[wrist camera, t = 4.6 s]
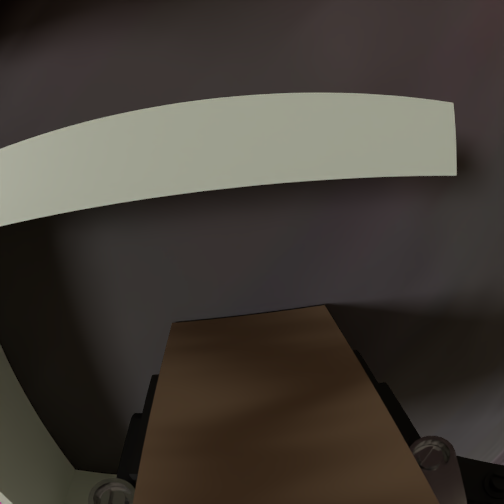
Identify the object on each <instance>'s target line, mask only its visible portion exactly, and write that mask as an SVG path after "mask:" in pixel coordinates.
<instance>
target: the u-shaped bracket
mask: <svg viewBox="0 0 504 504" xmlns="http://www.w3.org/2000/svg"><path fill="white" fill-rule="evenodd" d="M396 176H457V159H456V132H455V117H454V105H453V103H450V102H444V101H436V100H429V99H421V98H411V97H401V96H390V95H375V94H356V93H281V94H261V95H247V96H235V97H224V98H215V99H206V100H198V101H190V102H183V103H176V104H170V105H164V106H158V107H152V108H147V109H141V110H136V111H131V112H126V113H122V114H117V115H112V116H108V117H104V118H100V119H95V120H91V121H87V122H84V123H80V124H76V125H72V126H69V127H65V128H62V129H58V130H55V131H52V132H48V133H45V134H42V135H39V136H36V137H33V138H30V139H27V140H24V141H21V142H18V143H15V144H12V145H10V146H7V147H4V148H2V149H0V226H4V225H9V224H13V223H17V222H22V221H27V220H31V219H36V218H41V217H46V216H51V215H56V214H61V213H66V212H71V211H77V210H82V209H88V208H93V207H99V206H105V205H111V204H117V203H123V202H129V201H136V200H142V199H149V198H156V197H163V196H170V195H177V194H185V193H193V192H201V191H209V190H218V189H227V188H236V187H246V186H256V185H266V184H277V183H289V182H302V181H316V180H331V179H348V178H369V177H396ZM116 477H117V475H115V474H105V473H96V472H89V471H82V470H75V469H74V467H73V466H72V465H71V463H70V462H69V461H68V459H67V458H66V457H65V455H64V454H63V453H62V451H61V450H60V448H59V447H58V445H57V444H56V443H55V441H54V440H53V438H52V437H51V435H50V434H49V432H48V431H47V429H46V428H45V426H44V425H43V423H42V421H41V420H40V418H39V417H38V415H37V413H36V412H35V410H34V408H33V407H32V405H31V403H30V402H29V400H28V398H27V396H26V395H25V393H24V391H23V389H22V387H21V385H20V384H19V382H18V380H17V378H16V376H15V374H14V372H13V370H12V368H11V366H10V364H9V362H8V360H7V358H6V356H5V354H4V351H3V349H2V347H1V345H0V502H1V503H2V504H88V497H89V493H90V491H91V489H92V487H93V486H94V485H95V484H96V483H98V482H100V481H102V480H104V479H108V478H116Z"/></svg>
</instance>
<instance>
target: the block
mask: <svg viewBox="0 0 504 504" xmlns="http://www.w3.org/2000/svg"><path fill="white" fill-rule="evenodd" d="M133 504H439V502H438V500H437V498H436V496H435V494H434V492H433V491H432V489H431V487H430V485H429V483H428V481H427V479H426V478H425V476H424V474H423V472H422V470H421V469H420V467H419V465H418V463H417V461H416V459H415V458H414V456H413V454H412V452H411V450H410V449H409V447H408V445H407V443H406V442H405V440H404V438H403V436H402V434H401V433H400V431H399V429H398V427H397V426H396V424H395V422H394V420H393V419H392V417H391V415H390V413H389V412H388V410H387V408H386V407H385V405H384V403H383V401H382V400H381V398H380V396H379V394H378V393H377V391H376V389H375V388H374V386H373V384H372V383H371V381H370V379H369V377H368V376H367V374H366V372H365V371H364V369H363V367H362V366H361V364H360V362H359V361H358V359H357V357H356V356H355V354H354V352H353V351H352V349H351V347H350V346H349V344H348V342H347V341H346V339H345V337H344V336H343V334H342V333H341V331H340V329H339V328H338V326H337V324H336V323H335V321H334V320H333V318H332V316H331V315H330V313H329V311H328V310H327V308H326V307H325V305H321V306H314V307H308V308H301V309H293V310H286V311H279V312H271V313H263V314H255V315H246V316H238V317H229V318H220V319H210V320H200V321H189V322H178V323H172V326H171V330H170V333H169V337H168V341H167V345H166V349H165V353H164V357H163V361H162V365H161V369H160V374H159V378H158V382H157V386H156V391H155V395H154V399H153V404H152V408H151V413H150V417H149V422H148V426H147V431H146V436H145V441H144V446H143V451H142V456H141V461H140V466H139V471H138V477H137V482H136V488H135V493H134V499H133Z"/></svg>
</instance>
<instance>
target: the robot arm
mask: <svg viewBox="0 0 504 504" xmlns="http://www.w3.org/2000/svg"><path fill="white" fill-rule="evenodd" d="M353 352H354V354H355V356H356V357H357V359H358V361H359V362H360V364H361V366H362V367H363V369H364V371H365V372H366V374H367V376H368V377H369V379H370V381H371V383H372V384H373V386H374V388H375V389H376V391H377V393H378V394H379V396H380V398H381V400H382V401H383V403H384V405H385V407H386V408H387V410H388V412H389V413H390V415H391V417H392V419H393V420H394V422H395V424H396V426H397V427H398V429H399V431H400V433H401V434H402V436H403V438H404V440H405V442H406V443H407V445H408V447H409V449H410V450H411V452H412V454H413V456H414V458H415V459H416V461H417V463H418V465H419V467H420V469H421V470H422V472H423V474H424V476H425V478H426V479H427V481H428V483H429V485H430V487H431V489H432V491H433V492H434V494H435V496H436V498H437V500H438V502H439V504H504V465H498V464H493V463H488V462H483V461H478V460H473V459H469V458H464V457H460V456H456V453H455V450H454V448H453V446H452V444H451V443H450V442H449V441H447V440H446V439H444V438H442V437H438V436H426V437H422V438H421V437H420V436H419V434H418V432H417V431H416V429H415V428H414V426H413V424H412V423H411V421H410V419H409V418H408V416H407V415H406V413H405V411H404V410H403V408H402V407H401V405H400V403H399V402H398V400H397V399H396V397H395V395H394V394H393V392H392V391H391V389H390V388H389V386H388V385H387V384H386V383H384V382H383V383H379V384H378V382H377V381H376V379H375V377H374V376H373V374H372V372H371V371H370V369H369V368H368V366H367V364H366V363H365V361H364V359H363V358H362V356H361V355H360V353H359V352H358V351H357V350H355V351H353ZM158 378H159V375H152V377H151V381H150V385H149V389H148V393H147V397H146V401H145V405H144V409H143V413H134V414H133V416H132V418H131V422H130V425H129V429H128V433H127V437H126V440H125V444H124V448H123V452H122V456H121V460H120V464H119V468H118V473H117V477H116V478H108V479H104V480H102V481H100V482H98V483H96V484H95V485H94V486H93V487H92V489H91V491H90V493H89V497H88V504H133V499H134V493H135V488H136V482H137V477H138V471H139V466H140V461H141V456H142V451H143V446H144V441H145V436H146V431H147V426H148V422H149V417H150V413H151V408H152V404H153V399H154V395H155V391H156V386H157V382H158Z"/></svg>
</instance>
